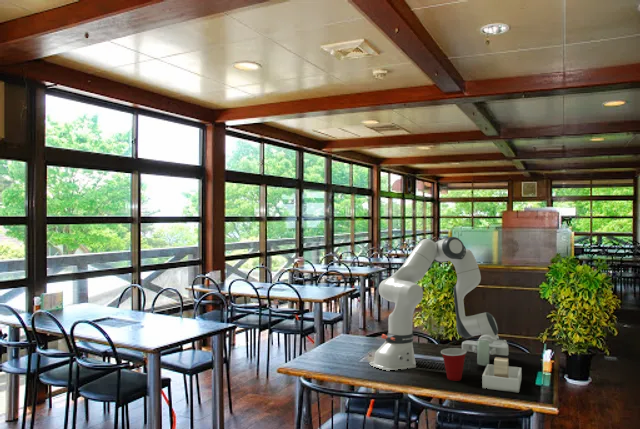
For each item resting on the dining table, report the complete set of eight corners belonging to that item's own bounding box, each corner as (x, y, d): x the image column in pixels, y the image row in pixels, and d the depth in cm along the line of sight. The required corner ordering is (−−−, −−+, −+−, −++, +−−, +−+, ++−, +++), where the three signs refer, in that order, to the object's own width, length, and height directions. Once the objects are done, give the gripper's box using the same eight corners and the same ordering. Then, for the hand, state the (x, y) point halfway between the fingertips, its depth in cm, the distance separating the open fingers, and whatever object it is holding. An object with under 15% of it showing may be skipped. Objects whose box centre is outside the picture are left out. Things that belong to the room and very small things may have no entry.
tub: (518, 392, 195) (518, 379, 195) (482, 388, 201) (482, 375, 201) (521, 379, 211) (521, 367, 211) (487, 375, 217) (487, 363, 217)
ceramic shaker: (484, 366, 219) (484, 343, 219) (474, 363, 223) (474, 340, 224) (491, 364, 222) (491, 341, 222) (482, 361, 226) (482, 339, 226)
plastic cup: (438, 374, 219) (438, 347, 219) (463, 374, 218) (463, 347, 218) (443, 382, 208) (443, 353, 208) (469, 382, 207) (469, 353, 208)
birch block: (507, 386, 199) (507, 361, 199) (494, 385, 201) (494, 360, 202) (508, 383, 204) (508, 358, 204) (495, 381, 206) (495, 357, 206)
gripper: (464, 335, 239) (458, 341, 227) (509, 340, 230) (507, 347, 218) (464, 349, 239) (458, 356, 226) (509, 354, 230) (507, 361, 218)
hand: (482, 351), depth 222 cm, fingers closed on ceramic shaker, 5 cm apart
